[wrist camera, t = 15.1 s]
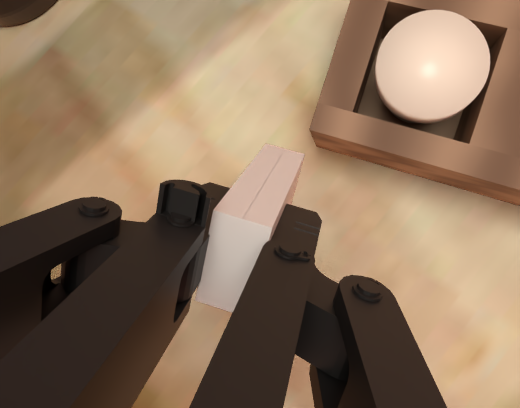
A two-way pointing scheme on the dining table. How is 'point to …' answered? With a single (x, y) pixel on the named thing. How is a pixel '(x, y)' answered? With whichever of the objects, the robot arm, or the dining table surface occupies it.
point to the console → (432, 134)
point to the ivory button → (431, 66)
